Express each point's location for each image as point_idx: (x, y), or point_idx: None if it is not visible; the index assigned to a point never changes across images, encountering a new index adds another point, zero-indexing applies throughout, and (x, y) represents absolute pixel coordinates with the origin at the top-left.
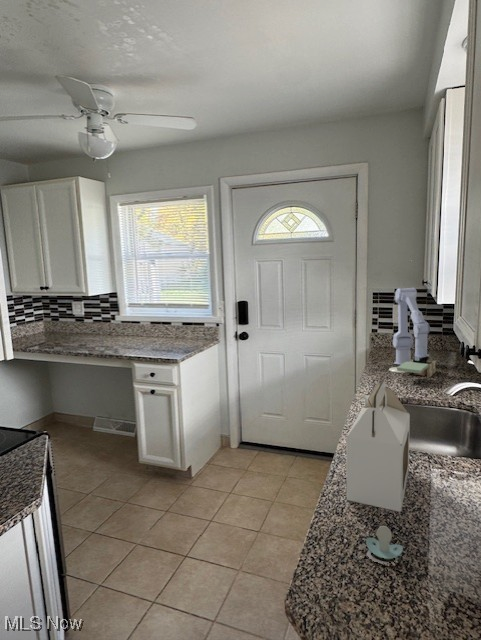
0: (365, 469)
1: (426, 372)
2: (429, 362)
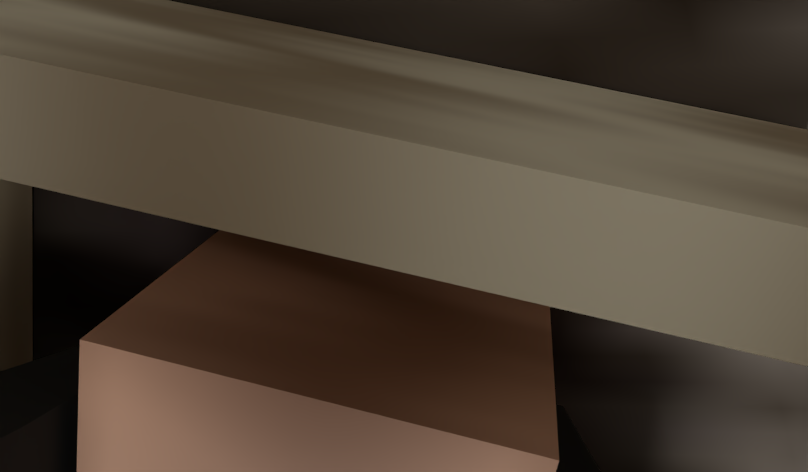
0: None
1: None
2: None
